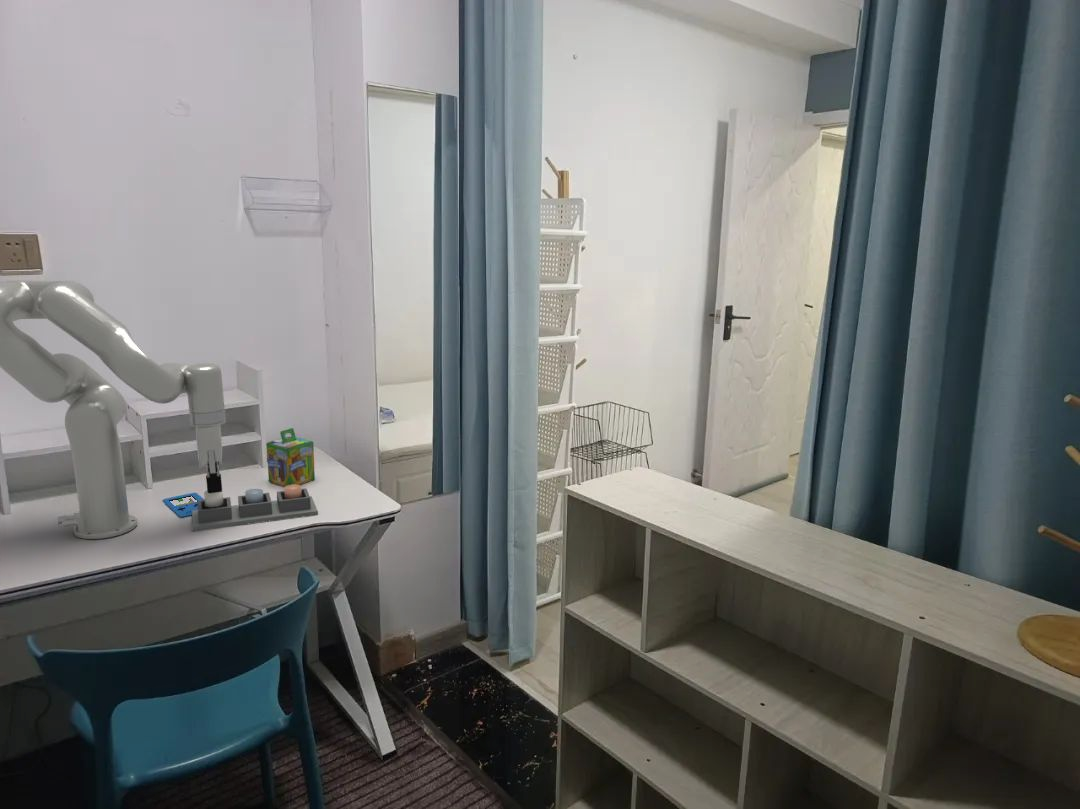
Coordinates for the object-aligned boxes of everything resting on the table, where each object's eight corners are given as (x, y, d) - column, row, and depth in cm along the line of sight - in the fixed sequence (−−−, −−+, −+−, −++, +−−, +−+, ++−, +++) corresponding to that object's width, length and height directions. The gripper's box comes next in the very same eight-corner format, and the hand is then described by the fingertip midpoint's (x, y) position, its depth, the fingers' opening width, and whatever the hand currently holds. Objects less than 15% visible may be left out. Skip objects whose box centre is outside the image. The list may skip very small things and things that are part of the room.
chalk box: (290, 489, 195) (287, 436, 191) (267, 482, 199) (264, 431, 196) (316, 479, 203) (314, 429, 199) (293, 473, 207) (291, 424, 204)
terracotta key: (285, 502, 177) (285, 490, 177) (284, 497, 181) (283, 485, 180) (302, 500, 179) (302, 488, 178) (300, 495, 183) (300, 483, 182)
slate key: (246, 507, 174) (245, 495, 173) (245, 502, 177) (244, 489, 176) (264, 505, 175) (263, 493, 175) (263, 500, 179) (262, 487, 178)
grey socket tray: (192, 531, 166) (191, 515, 165) (192, 514, 176) (191, 498, 175) (317, 514, 178) (317, 499, 177) (311, 499, 188) (310, 485, 187)
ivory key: (205, 508, 170) (204, 495, 169) (205, 502, 173) (204, 489, 172) (223, 506, 171) (222, 493, 171) (223, 500, 175) (222, 487, 174)
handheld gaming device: (180, 515, 173) (161, 498, 184) (180, 520, 173) (161, 502, 184) (215, 507, 179) (195, 491, 189) (216, 512, 179) (196, 495, 189)
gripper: (190, 411, 172) (197, 483, 177) (189, 426, 159) (197, 504, 164) (224, 408, 175) (230, 479, 180) (226, 423, 162) (233, 499, 167)
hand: (214, 491), depth 172 cm, fingers closed
